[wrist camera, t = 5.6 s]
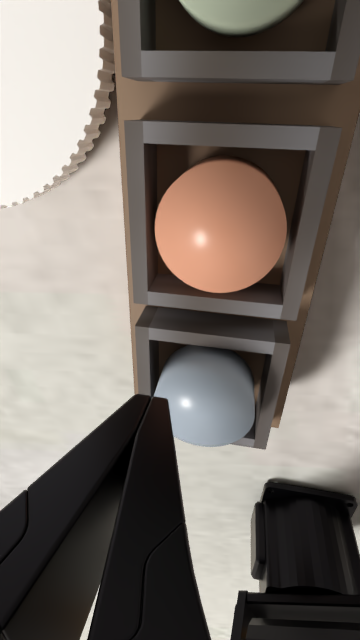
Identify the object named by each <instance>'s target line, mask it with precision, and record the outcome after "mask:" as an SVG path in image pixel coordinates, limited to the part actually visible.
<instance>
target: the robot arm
mask: <svg viewBox="0 0 360 640" xmlns="http://www.w3.org/2000/svg"><path fill="white" fill-rule="evenodd" d="M356 508H357V501H356V499H355V497H353V496H350V495H344V494H338V493H332V492H326V491H320V490H315V489H309V488H303V487H297V486H291V485H285V484H280V483H274V482H267V483H265V485H264V488H263V492H262V496H261V500H260V502H257V503H256V504H255V506H254V510H253V514H252V518H251V575H252V577H253V578H254V579H257V580H259V589H260V593H254V592H248V591H239V593H238V600H237V604H236V606H235V612H234V619H233V626H232V633H231V640H360V554H359V550H358V546H357V542H356V538H355V534H354V530H353V526H352V522H351V517H352V515H353V513H354V511H355V509H356ZM100 583H101V584H100ZM99 586H100V588H99ZM98 588H99V592H98V596H97V601H96V605H95V609H94V613H93V618H92V622H91V626H90V630H89V635H88V639H87V640H211V637H210V634H209V630H208V626H207V622H206V619H205V615H204V611H203V607H202V604H201V599H200V595H199V591H198V587H197V583H196V579H195V574H194V570H193V564H192V558H191V553H190V547H189V541H188V534H187V527H186V524H185V514H184V507H183V500H182V493H181V486H180V479H179V472H178V465H177V458H176V451H175V444H174V437H173V430H172V423H171V416H170V409H169V402H168V399H167V398H162V397H156V396H154V397H151V396H149V395H143V394H135V395H134V396H133V397H131V398H130V399H129V400H128V401H127V402H126V403H125V404H123V405H122V406H121V407H120V408H119V409H118V410H116V411H115V412H114V413H113V414H112V415H111V416H110V417H108V418H107V419H106V420H105V421H104V422H103V423H102V424H100V425H99V426H98V427H97V428H96V429H95V430H93V431H92V432H91V433H90V434H89V435H88V436H87V437H85V438H84V439H83V440H82V441H81V442H80V443H78V444H77V445H76V446H75V447H74V448H73V449H72V450H70V451H69V452H68V453H67V454H66V455H65V456H63V457H62V458H61V459H60V460H59V461H58V462H57V463H55V464H54V465H53V466H52V467H51V468H50V469H48V470H47V471H46V472H45V473H44V474H43V475H42V476H40V477H39V478H38V479H37V480H36V481H35V482H33V483H32V484H31V485H30V486H29V487H28V491H27V490H24V491H23V492H22V493H21V494H19V495H18V496H17V497H16V498H15V499H14V500H12V501H11V502H10V503H9V504H8V505H7V506H5V507H4V508H3V509H2V510H1V511H0V640H80V637H81V634H82V631H83V629H84V626H85V623H86V621H87V618H88V615H89V613H90V610H91V607H92V604H93V602H94V599H95V596H96V594H97V591H98Z"/></svg>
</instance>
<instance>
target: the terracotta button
mask: <svg viewBox="0 0 360 640" xmlns="http://www.w3.org/2000/svg"><path fill="white" fill-rule="evenodd" d="M286 233H287V221H286V214H285V210H284V207H283V204H282V201H281V198H280V195H279V192H278V190H277V188H276V186H275V184H274V182H273V181H272V179H271V178H270V177H269V175H268V174H267V173H266V172H265V171H264V170H263V169H261V168H260V167H259V166H258V165H256V164H254V163H253V162H251V161H249V160H246V159H244V158H240V157H237V156H215V157H211V158H207V159H204V160H202V161H200V162H198V163H196V164H195V165H193V166H192V167H190V168H189V169H188V170H187V171H186V172H184V173H183V174H182V175H181V176H180V177H179V178H178V179H177V180H176V181H175V182H174V183H173V184H172V185H171V186H170V187H169V188H168V190H167V191H166V193H165V194H164V196H163V198H162V200H161V202H160V204H159V207H158V210H157V213H156V219H155V238H156V243H157V247H158V250H159V253H160V255H161V257H162V259H163V261H164V262H165V264H166V265H167V267H168V268H169V269H170V270H171V271H172V273H173V274H174V275H176V276H177V277H178V278H179V279H180V280H182V281H183V282H184V283H186V284H188V285H190V286H192V287H194V288H196V289H199V290H203V291H206V292H213V293H227V292H234V291H238V290H241V289H244V288H247V287H249V286H251V285H253V284H254V283H256V282H258V281H259V280H260V279H262V278H263V277H264V276H265V275H266V274H267V273H268V272H269V271H270V270H271V269H272V268H273V266H274V265H275V264H276V262H277V261H278V259H279V257H280V255H281V253H282V250H283V248H284V244H285V240H286Z"/></svg>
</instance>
